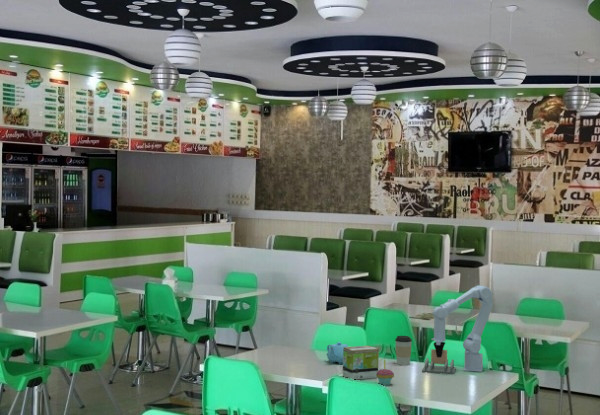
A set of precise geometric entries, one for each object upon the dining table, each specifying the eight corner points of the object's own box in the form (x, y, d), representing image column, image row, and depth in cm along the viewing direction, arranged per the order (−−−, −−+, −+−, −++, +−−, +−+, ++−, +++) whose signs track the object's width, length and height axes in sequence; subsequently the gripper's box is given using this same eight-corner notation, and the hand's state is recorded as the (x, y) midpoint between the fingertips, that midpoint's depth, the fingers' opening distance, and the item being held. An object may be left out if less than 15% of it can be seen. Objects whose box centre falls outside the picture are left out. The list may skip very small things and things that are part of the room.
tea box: (352, 380, 376) (353, 350, 376) (342, 376, 385) (342, 346, 385) (378, 378, 383) (379, 348, 383) (367, 373, 392) (368, 344, 392)
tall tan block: (447, 363, 401) (447, 350, 401) (446, 364, 400) (446, 350, 400) (431, 362, 404) (431, 349, 404) (431, 363, 402) (431, 349, 402)
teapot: (348, 361, 426) (348, 340, 427) (353, 365, 412) (353, 343, 413) (325, 361, 424) (325, 340, 425) (330, 365, 410) (330, 344, 411)
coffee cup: (411, 362, 422) (411, 334, 422) (412, 365, 413) (412, 337, 413) (394, 362, 422) (394, 334, 422) (394, 365, 413) (395, 337, 413)
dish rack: (455, 368, 406) (455, 359, 406) (453, 374, 393) (454, 364, 393) (424, 366, 411) (425, 357, 411) (422, 372, 397) (422, 362, 397)
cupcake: (374, 382, 374) (374, 357, 374) (392, 382, 374) (392, 357, 374) (377, 386, 365) (378, 360, 365) (395, 386, 366) (396, 360, 366)
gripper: (433, 327, 410) (432, 353, 410) (430, 332, 396) (430, 358, 396) (446, 328, 408) (446, 354, 408) (444, 332, 394) (444, 359, 394)
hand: (439, 356), depth 402 cm, fingers closed on tall tan block, 2 cm apart
